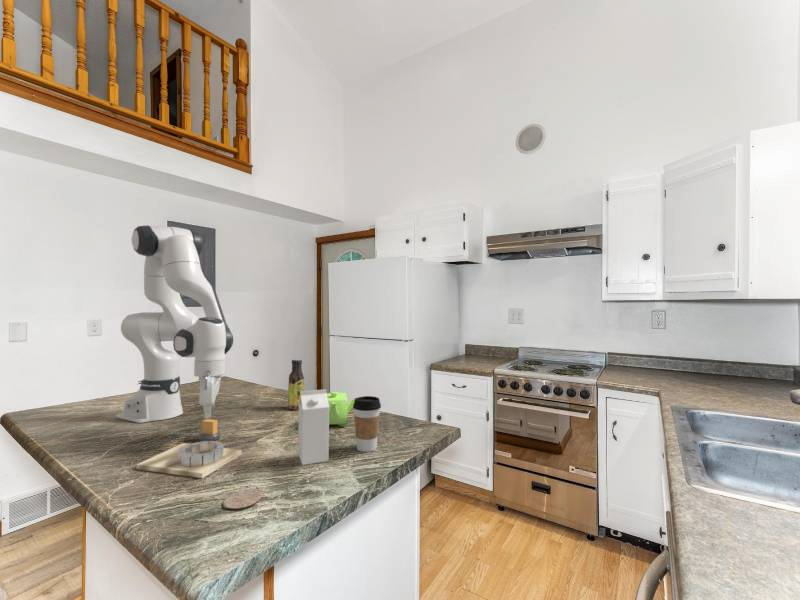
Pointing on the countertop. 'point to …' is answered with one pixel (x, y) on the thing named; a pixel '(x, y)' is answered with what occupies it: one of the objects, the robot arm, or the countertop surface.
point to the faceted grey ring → (192, 459)
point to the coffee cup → (366, 422)
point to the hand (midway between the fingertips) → (209, 413)
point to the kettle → (338, 408)
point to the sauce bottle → (295, 384)
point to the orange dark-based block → (209, 431)
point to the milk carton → (313, 427)
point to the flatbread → (242, 499)
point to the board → (169, 465)
